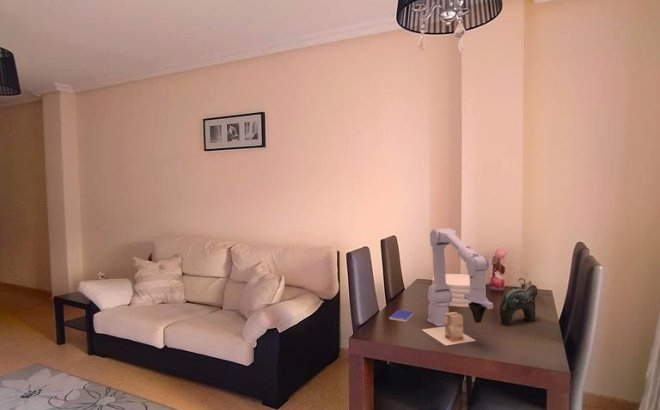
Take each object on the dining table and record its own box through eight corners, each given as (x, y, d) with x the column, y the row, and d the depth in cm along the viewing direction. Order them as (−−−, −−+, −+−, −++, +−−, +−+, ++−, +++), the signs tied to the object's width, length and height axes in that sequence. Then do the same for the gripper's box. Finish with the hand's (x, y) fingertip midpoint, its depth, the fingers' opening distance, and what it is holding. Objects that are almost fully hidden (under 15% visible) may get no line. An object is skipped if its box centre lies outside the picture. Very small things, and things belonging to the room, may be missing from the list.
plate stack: (494, 306, 196) (494, 284, 195) (440, 307, 196) (439, 285, 196) (474, 292, 224) (474, 273, 223) (427, 293, 224) (427, 274, 224)
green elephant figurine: (529, 317, 178) (529, 275, 177) (541, 321, 172) (541, 278, 171) (497, 323, 171) (496, 279, 170) (508, 328, 165) (508, 282, 164)
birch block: (445, 337, 154) (444, 313, 154) (455, 335, 155) (455, 311, 155) (452, 341, 149) (452, 316, 149) (463, 340, 151) (463, 315, 150)
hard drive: (405, 319, 176) (413, 311, 187) (389, 316, 180) (397, 309, 191) (405, 322, 176) (413, 315, 187) (389, 320, 180) (397, 312, 191)
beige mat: (421, 331, 163) (421, 329, 163) (449, 327, 167) (449, 325, 167) (445, 346, 146) (445, 345, 146) (476, 342, 150) (476, 340, 150)
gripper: (499, 290, 140) (500, 326, 140) (473, 282, 154) (474, 315, 154) (483, 292, 138) (484, 329, 138) (459, 283, 152) (459, 317, 152)
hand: (477, 322), depth 146 cm, fingers closed
